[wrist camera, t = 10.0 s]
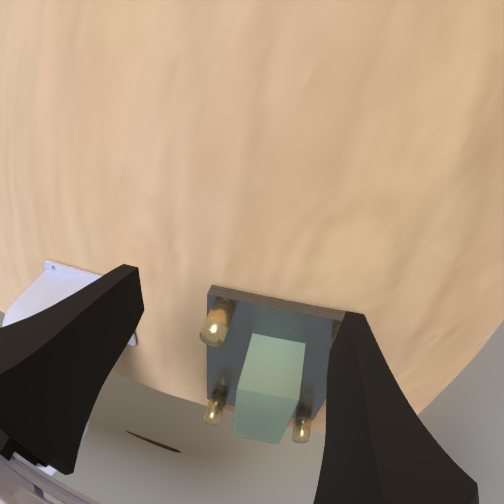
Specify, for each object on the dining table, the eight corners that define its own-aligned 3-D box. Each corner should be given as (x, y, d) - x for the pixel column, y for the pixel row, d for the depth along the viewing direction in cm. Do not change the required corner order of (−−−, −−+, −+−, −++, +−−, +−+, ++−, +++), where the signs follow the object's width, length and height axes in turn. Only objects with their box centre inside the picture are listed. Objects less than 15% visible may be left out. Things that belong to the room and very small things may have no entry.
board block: (244, 389, 28) (231, 435, 23) (252, 333, 23) (237, 387, 19) (286, 397, 27) (278, 444, 23) (305, 343, 23) (298, 399, 19)
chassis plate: (210, 391, 31) (199, 422, 27) (211, 284, 23) (193, 323, 19) (313, 412, 30) (310, 445, 26) (362, 314, 22) (365, 357, 18)
